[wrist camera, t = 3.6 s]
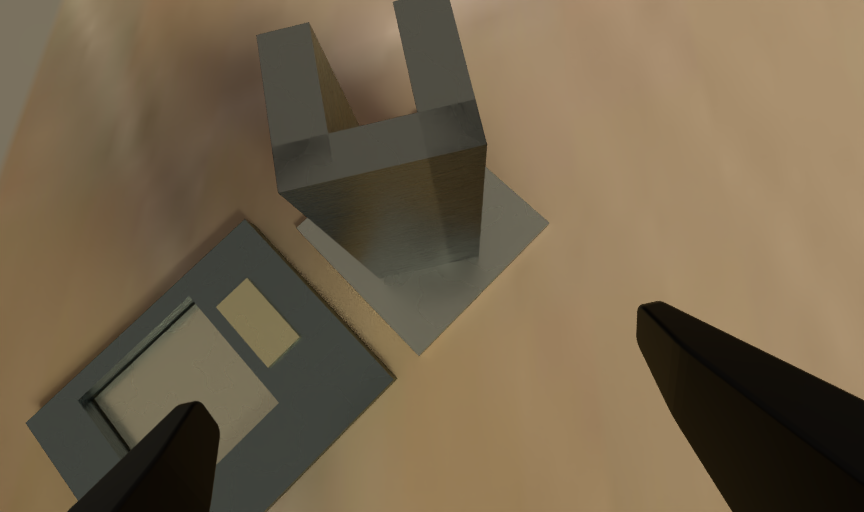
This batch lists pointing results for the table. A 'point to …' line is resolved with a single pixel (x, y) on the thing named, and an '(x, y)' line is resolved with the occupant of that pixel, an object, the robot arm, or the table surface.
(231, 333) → the rail plate
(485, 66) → the table surface
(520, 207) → the grey square plate
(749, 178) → the table surface
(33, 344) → the table surface
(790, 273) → the table surface
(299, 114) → the grey clip
